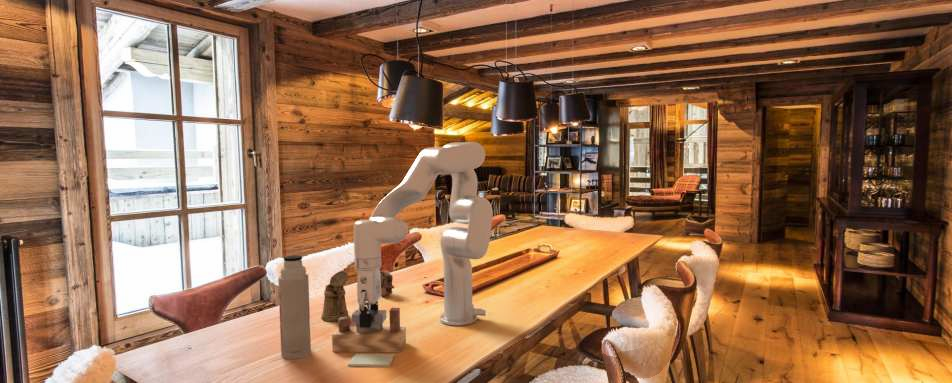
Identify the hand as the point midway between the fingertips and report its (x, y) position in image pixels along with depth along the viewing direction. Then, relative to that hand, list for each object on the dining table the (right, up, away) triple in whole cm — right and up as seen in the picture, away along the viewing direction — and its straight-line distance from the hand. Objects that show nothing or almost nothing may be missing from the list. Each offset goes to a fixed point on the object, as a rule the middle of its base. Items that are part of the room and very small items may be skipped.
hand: (369, 321), depth 148 cm
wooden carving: (-6, -4, +56) cm, 56 cm away
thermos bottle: (-20, -8, -3) cm, 22 cm away
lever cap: (0, 0, 0) cm, 0 cm away
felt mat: (+3, -8, -10) cm, 13 cm away
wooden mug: (-17, -6, +26) cm, 32 cm away
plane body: (0, -8, +1) cm, 8 cm away
